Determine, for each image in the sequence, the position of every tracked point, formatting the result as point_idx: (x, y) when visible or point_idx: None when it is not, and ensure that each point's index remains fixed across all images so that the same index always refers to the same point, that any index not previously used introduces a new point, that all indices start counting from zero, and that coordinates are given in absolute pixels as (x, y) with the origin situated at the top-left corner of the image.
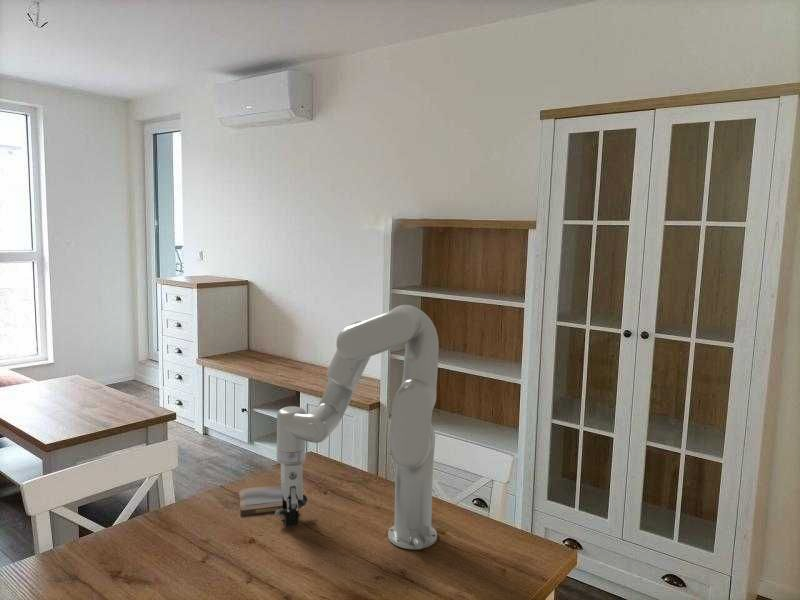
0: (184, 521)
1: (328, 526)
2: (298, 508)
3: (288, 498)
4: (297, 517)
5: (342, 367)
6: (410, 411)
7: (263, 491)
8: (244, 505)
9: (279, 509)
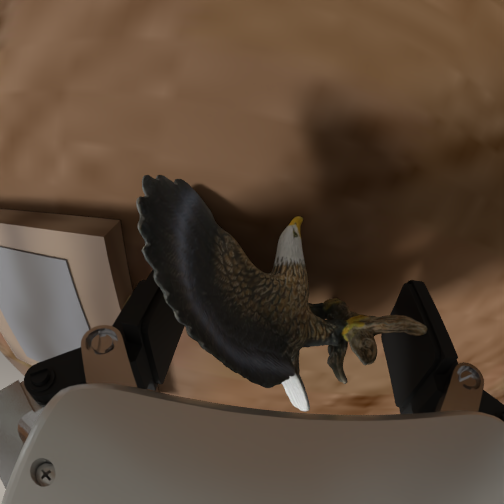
0: None
1: (441, 58)
2: (242, 253)
3: (161, 350)
4: (435, 318)
5: None
6: None
7: (10, 313)
8: None
9: (309, 408)
